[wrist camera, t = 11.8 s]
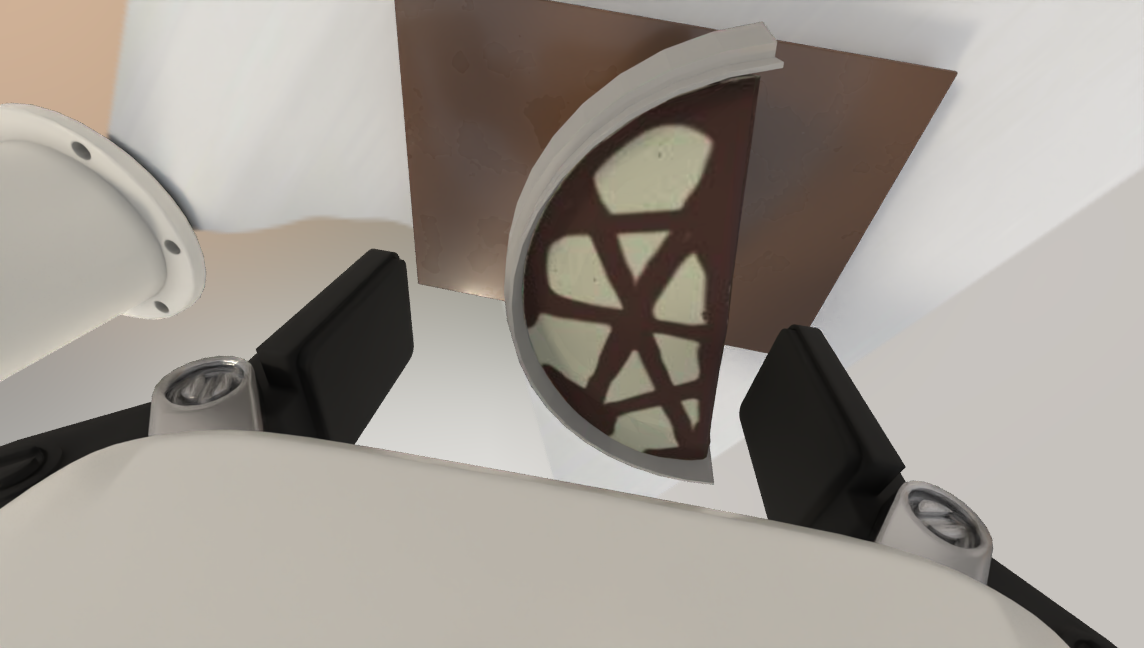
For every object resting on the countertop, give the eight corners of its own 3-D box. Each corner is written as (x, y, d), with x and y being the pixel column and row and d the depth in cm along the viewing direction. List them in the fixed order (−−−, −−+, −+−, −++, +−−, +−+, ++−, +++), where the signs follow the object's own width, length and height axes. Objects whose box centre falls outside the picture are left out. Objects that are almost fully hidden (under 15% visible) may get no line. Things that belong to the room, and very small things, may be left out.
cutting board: (429, 270, 24) (417, 284, 23) (410, -24, 16) (391, -27, 15) (784, 341, 23) (791, 358, 22) (935, 67, 16) (959, 71, 15)
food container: (538, 38, 16) (422, 57, 8) (712, 21, 15) (791, 21, 7) (568, 317, 23) (524, 481, 15) (688, 318, 22) (712, 495, 14)
